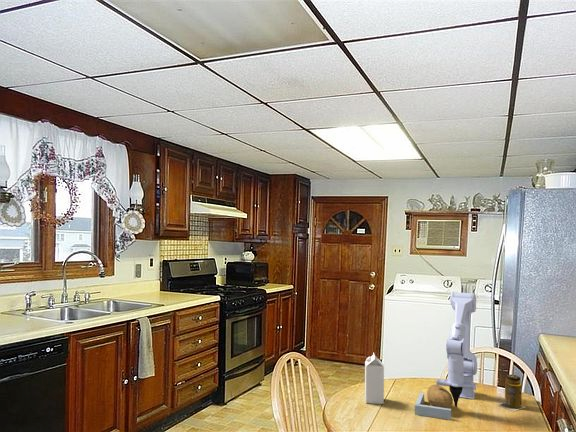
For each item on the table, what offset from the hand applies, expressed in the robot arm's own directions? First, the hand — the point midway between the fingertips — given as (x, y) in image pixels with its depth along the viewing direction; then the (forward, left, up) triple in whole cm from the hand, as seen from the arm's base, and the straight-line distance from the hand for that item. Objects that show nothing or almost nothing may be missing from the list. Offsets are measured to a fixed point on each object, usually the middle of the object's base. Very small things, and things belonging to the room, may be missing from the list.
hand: (455, 406), depth 181 cm
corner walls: (+3, -8, -2) cm, 8 cm away
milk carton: (+2, -32, -2) cm, 32 cm away
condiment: (-15, +20, -2) cm, 25 cm away
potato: (0, -6, -2) cm, 6 cm away
